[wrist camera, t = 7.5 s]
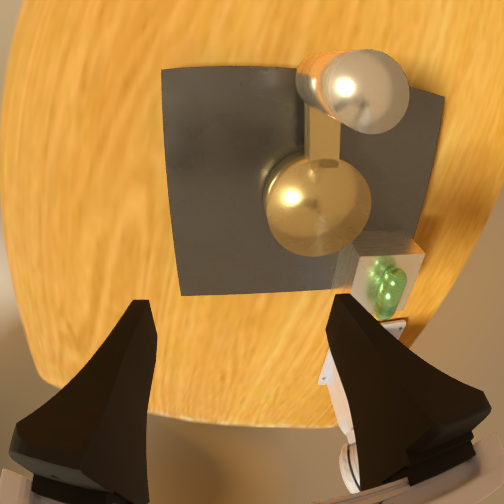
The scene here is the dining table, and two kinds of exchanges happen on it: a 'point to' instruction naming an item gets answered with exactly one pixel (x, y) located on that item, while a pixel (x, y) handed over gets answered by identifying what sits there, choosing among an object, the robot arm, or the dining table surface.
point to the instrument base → (257, 172)
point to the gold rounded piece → (332, 149)
